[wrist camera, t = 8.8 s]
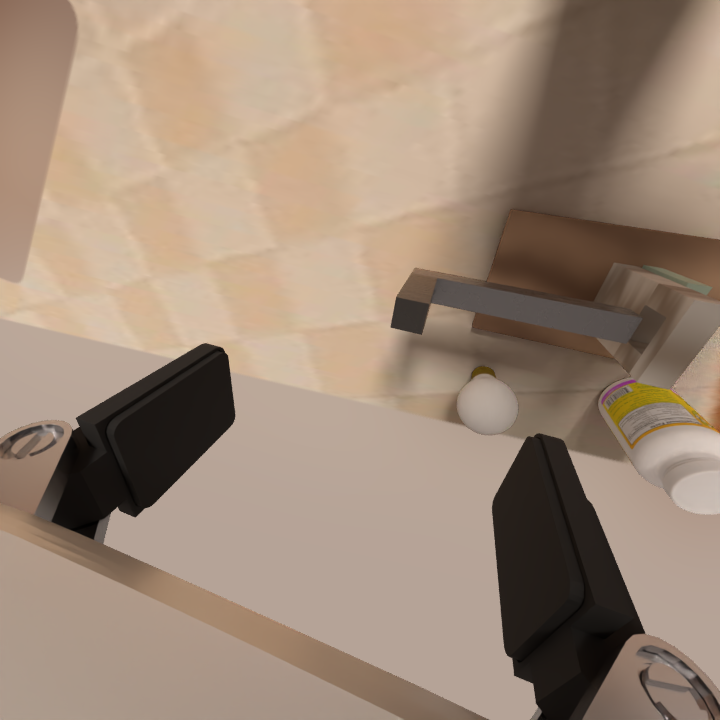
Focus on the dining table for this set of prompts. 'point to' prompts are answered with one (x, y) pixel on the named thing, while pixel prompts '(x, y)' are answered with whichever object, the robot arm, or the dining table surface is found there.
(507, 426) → the light bulb
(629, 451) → the supplement bottle
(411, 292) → the dark grey bent bar
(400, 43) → the dining table surface
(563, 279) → the stand
